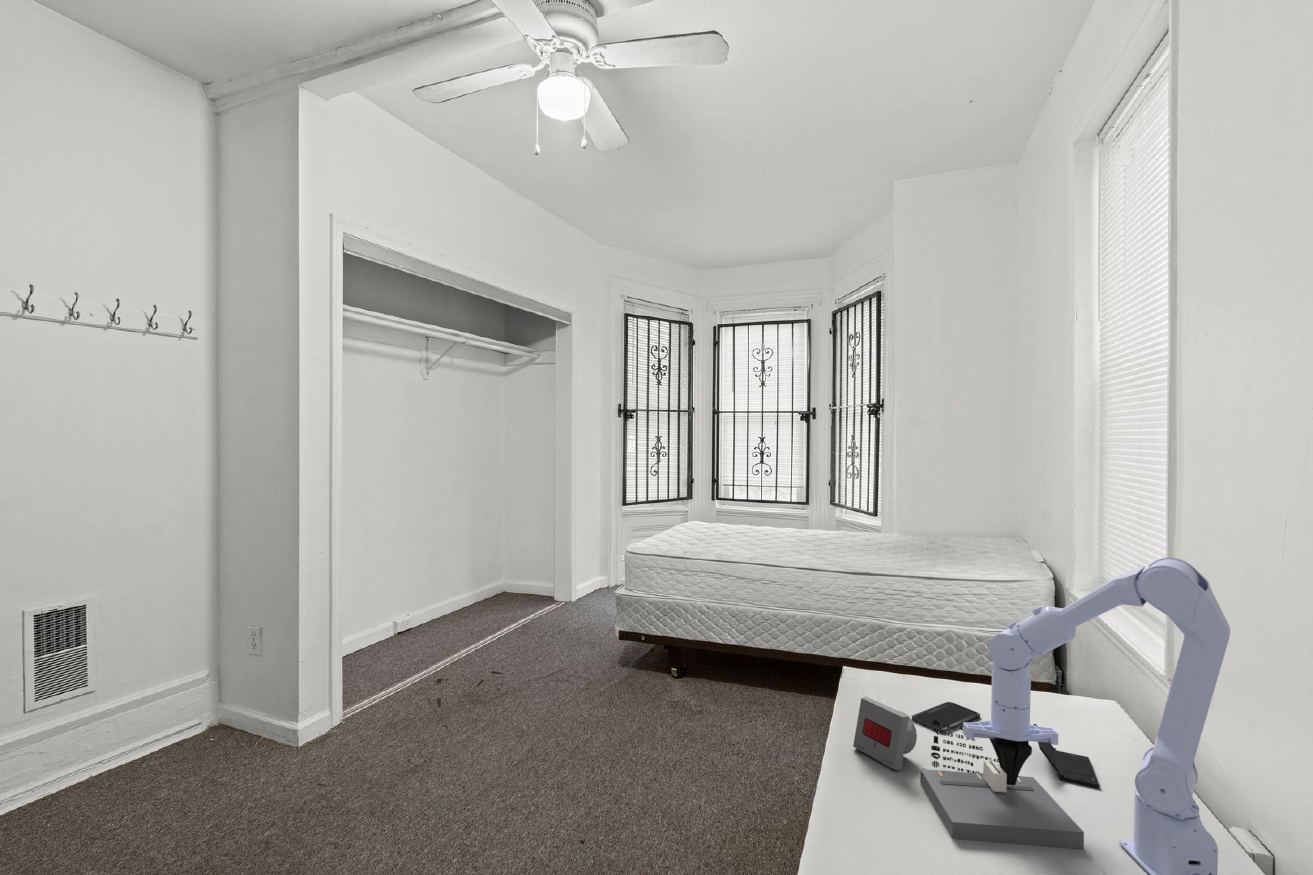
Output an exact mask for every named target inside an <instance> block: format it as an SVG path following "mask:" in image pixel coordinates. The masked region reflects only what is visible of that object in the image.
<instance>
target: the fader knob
mask: <svg viewBox="0 0 1313 875" xmlns="http://www.w3.org/2000/svg"><path fill="white" fill-rule="evenodd" d="M982 773H983V778H984V780H985V781H986V782H987V784H988V785H989V786H990V787H991V789H992V790H993V791H994V792H1006V780H1007V774H1006V773H1005V772H1004V771H1003V770H1002V768H1001V767H1000V765H999V763H998V762H997V761H996V762H994V761H993V760H992V761H991V760H983V772H982Z"/></svg>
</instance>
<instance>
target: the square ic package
mask: <svg viewBox="0 0 1313 875" xmlns="http://www.w3.org/2000/svg"><path fill="white" fill-rule="evenodd" d="M911 719H912V722H913V723H914V724H918V723H919V724H918V725H920V726H923V727H925V728H926V729H929V728H930V729H929V730H931V731H933V732H935V731H934V728H936V731H937V732H939V734H942V733H943V732H946V734H947V732H948V733H952V732H953V731H955V730H957V729H956V727H955V729H954V726H957V728H958V729H959V728H960V727H962V728H963V722H966V723H971V722H976V721H978V720H980V719H981V714H980V713H979V712H977V711H976V710H972V709H970V708H967V707H966V706H963V705H960V704H958V703H955V702H951V701H947V702H944V703H941V704H938V705H935V706H932V707H931V708H928V709H925V710H922V711H920V712H918V713H915V714H911ZM935 720H936V721H938V722H939V727H937V724H935V726H933V722H932V721H935ZM975 720H976V721H975ZM947 725H950V726H951V728H952V726H953V729H951V728H947ZM944 726H946V727H944ZM950 726H949V727H950ZM942 735H943V734H942Z"/></svg>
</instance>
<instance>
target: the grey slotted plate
mask: <svg viewBox="0 0 1313 875" xmlns="http://www.w3.org/2000/svg"><path fill="white" fill-rule="evenodd" d="M919 777H920V778H919V784H920V783H921V784H920V786H921V787H922V788H923V790H924V793H925V794H926V795H927V797H928V799H929V801H930V802H931V805H932V806H933V808H934V809H935V812H936V813H937V815H938V816H939V818H940V820H941V821H942V823H943V825H944V827H945V828H946V830H947V832H948V834H949V836H950V837H951V839H959V840H972V841H984V842H994V843H1007V844H1020V845H1032V846H1041V847H1043V846H1045V847H1056V848H1057V847H1058V848H1068V849H1080V850H1084V848H1085V846H1084V845H1085V843H1084V842H1085V832H1084V830H1083V829H1081V827H1080V826H1079V825H1078V824H1077V823H1076V822H1075V821H1074V820H1073V819H1072V817H1070V816H1069V814H1067V811H1065V810H1064V809H1063V808H1062V806H1060V805H1059V803H1057V801H1056V800H1055V799H1054V798H1053V797H1052V796H1051V795H1050V793H1048V792H1047V791H1046V790H1045V788H1044V787H1043V786H1042V785H1041V784H1040V782H1038V781H1037V779H1035V777H1033V776H1020V775H1018V778H1017V781H1016V785H1007V784H1006V792H994V791H993V790H992V789H991V787H990V786H989V785H988V784H987V782H986V781H985V780H984V778H983V772H979V773H978V772H977V773H972V772H971V773H970V772H967V771H958V772H957V771H955V770H954V771H952V770H951V771H950V770H939V769H925V768H920V774H919Z"/></svg>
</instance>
